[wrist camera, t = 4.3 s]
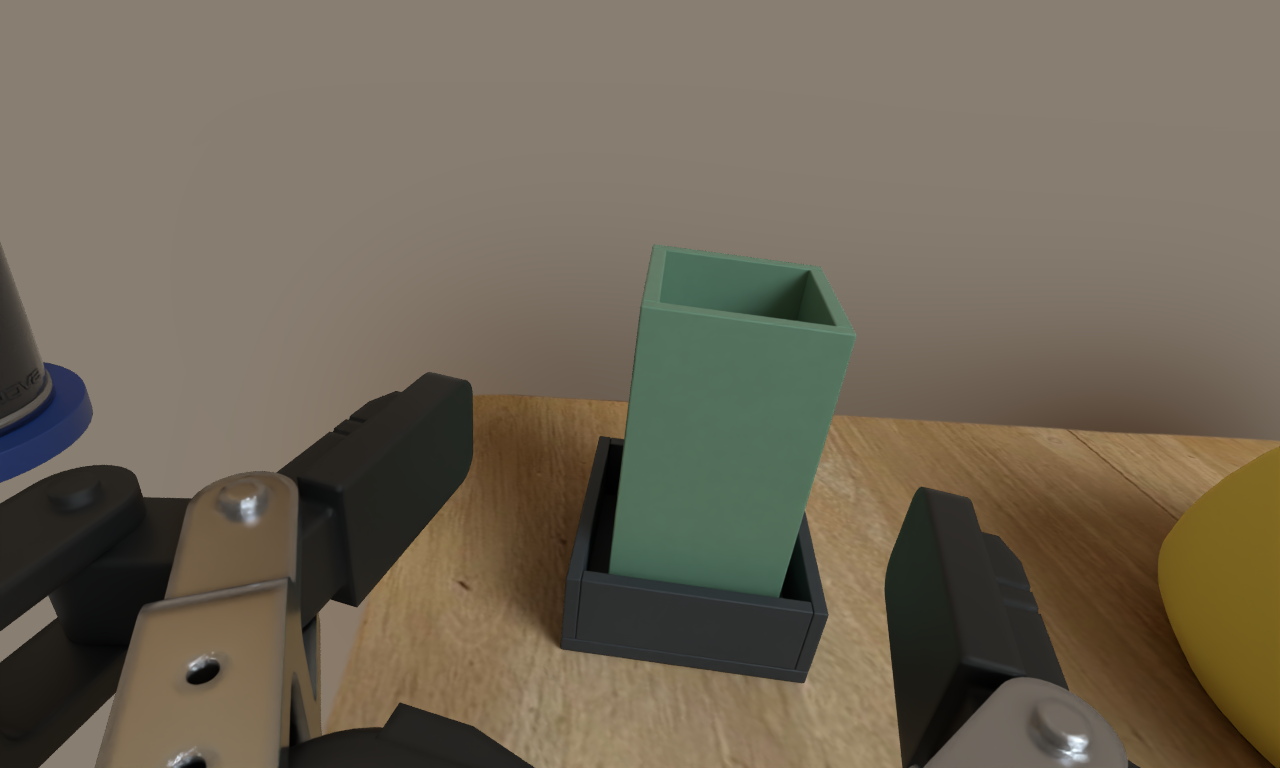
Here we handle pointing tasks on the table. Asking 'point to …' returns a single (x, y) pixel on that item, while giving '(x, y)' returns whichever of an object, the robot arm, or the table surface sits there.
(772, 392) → the green square holder
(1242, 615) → the teapot
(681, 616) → the dark grey square tray
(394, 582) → the table surface
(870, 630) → the table surface
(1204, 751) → the table surface
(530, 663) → the table surface
